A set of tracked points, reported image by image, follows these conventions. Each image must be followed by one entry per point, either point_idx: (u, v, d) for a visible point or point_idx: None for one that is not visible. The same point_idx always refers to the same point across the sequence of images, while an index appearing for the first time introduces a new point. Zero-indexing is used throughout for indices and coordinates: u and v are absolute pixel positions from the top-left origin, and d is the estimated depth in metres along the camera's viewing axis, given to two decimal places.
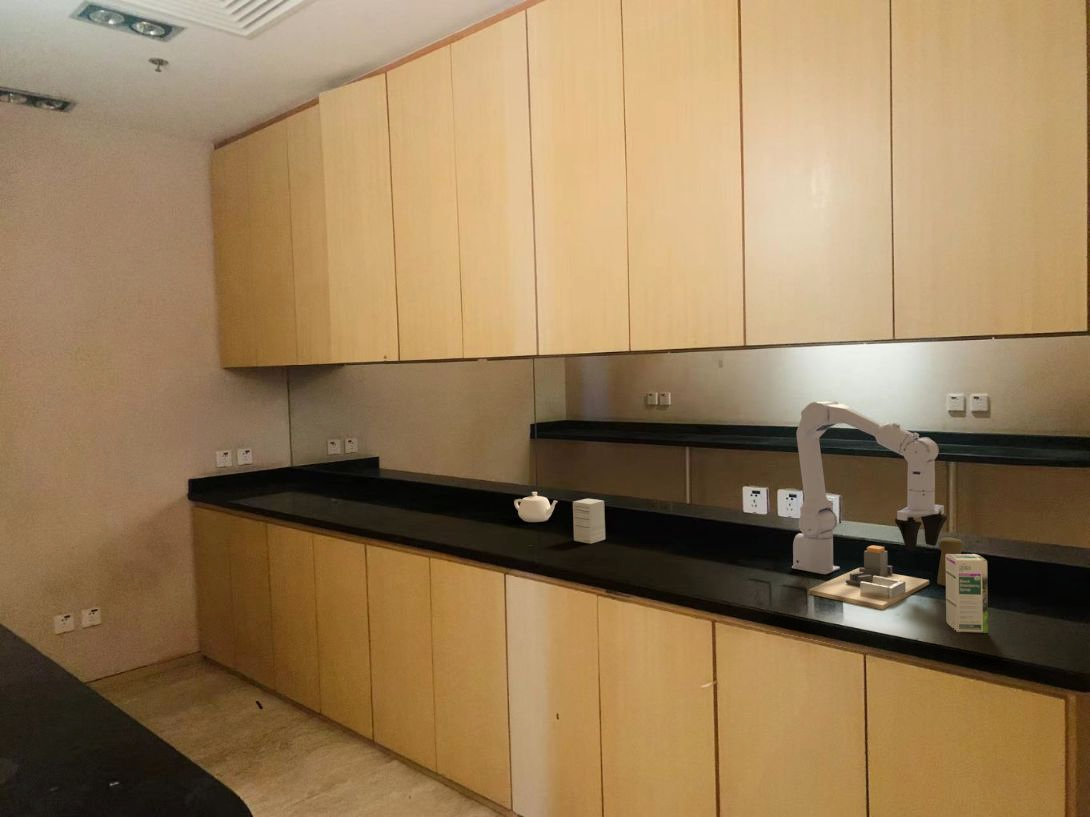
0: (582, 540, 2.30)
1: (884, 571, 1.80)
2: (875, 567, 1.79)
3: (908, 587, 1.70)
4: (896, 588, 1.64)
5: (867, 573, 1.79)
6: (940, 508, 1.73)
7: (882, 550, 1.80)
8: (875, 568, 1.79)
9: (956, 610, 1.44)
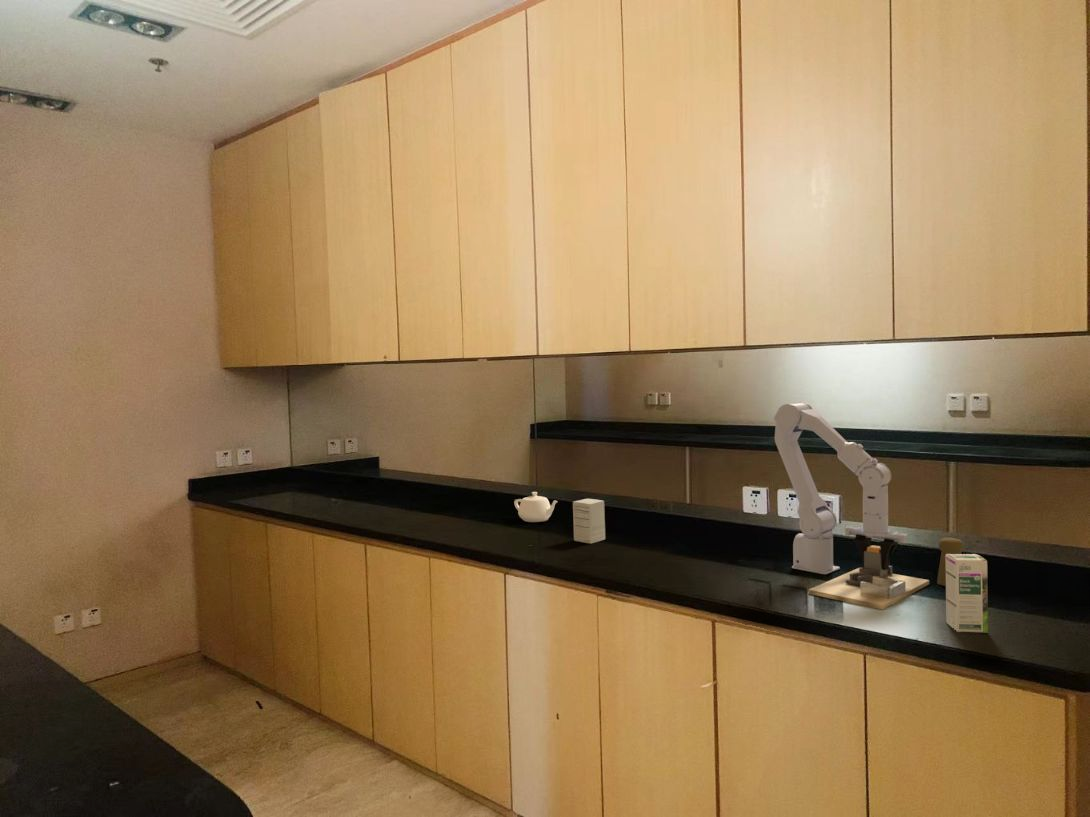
0: (582, 540, 2.30)
1: (884, 571, 1.80)
2: (875, 567, 1.79)
3: (908, 587, 1.70)
4: (896, 588, 1.64)
5: (867, 573, 1.79)
6: (895, 536, 1.76)
7: None
8: (875, 568, 1.79)
9: (956, 610, 1.44)
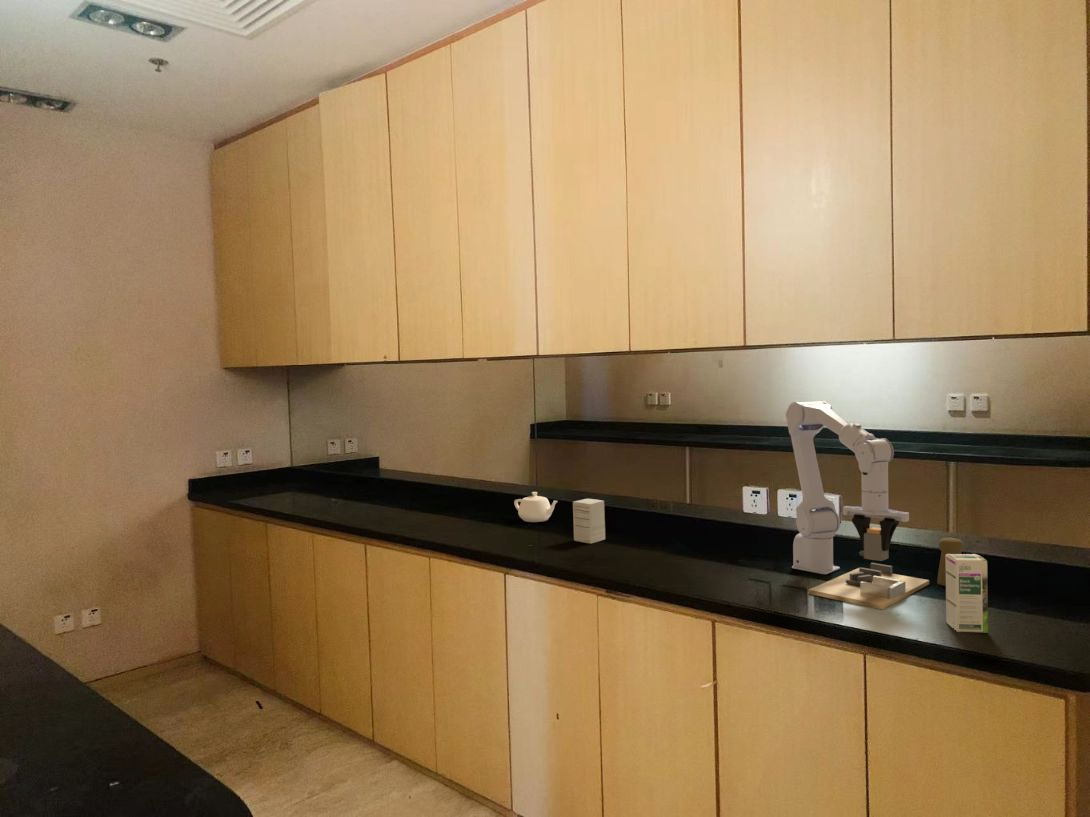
0: (582, 540, 2.30)
1: (885, 554, 1.70)
2: (875, 550, 1.69)
3: (908, 587, 1.70)
4: (896, 588, 1.64)
5: (867, 573, 1.79)
6: (896, 514, 1.66)
7: None
8: (876, 550, 1.69)
9: (956, 610, 1.44)
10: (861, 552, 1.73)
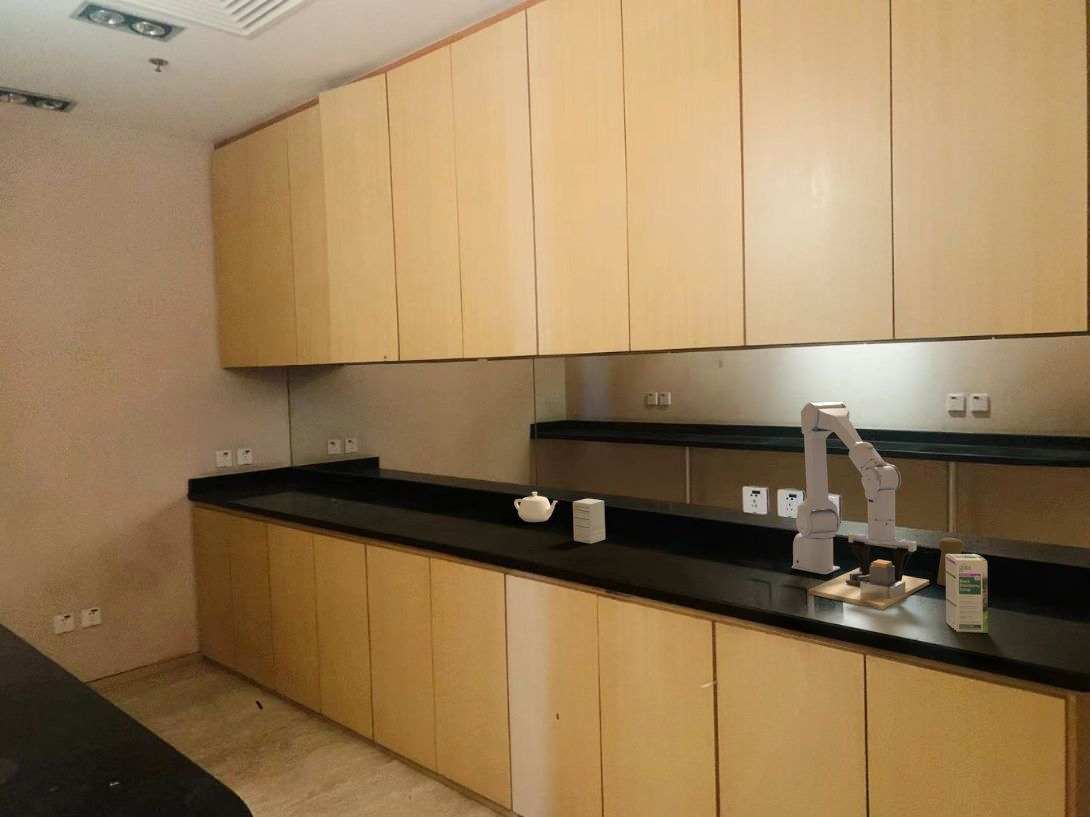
0: (582, 540, 2.30)
1: None
2: (881, 584, 1.65)
3: (908, 587, 1.70)
4: (896, 588, 1.64)
5: None
6: (903, 544, 1.62)
7: (889, 565, 1.66)
8: (882, 584, 1.65)
9: (956, 610, 1.44)
10: None
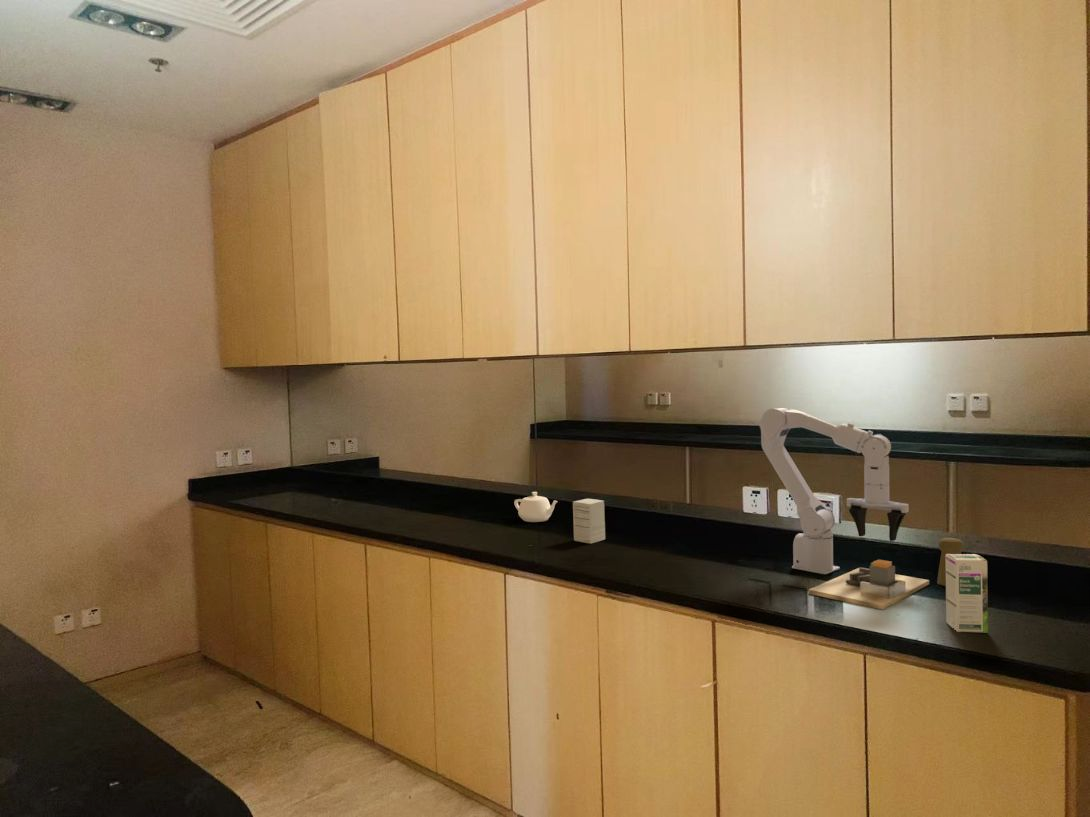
0: (582, 540, 2.30)
1: None
2: (881, 584, 1.65)
3: (908, 587, 1.70)
4: (896, 588, 1.64)
5: (867, 573, 1.79)
6: (896, 506, 1.77)
7: (889, 565, 1.66)
8: (882, 584, 1.65)
9: (956, 610, 1.44)
10: None
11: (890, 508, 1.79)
